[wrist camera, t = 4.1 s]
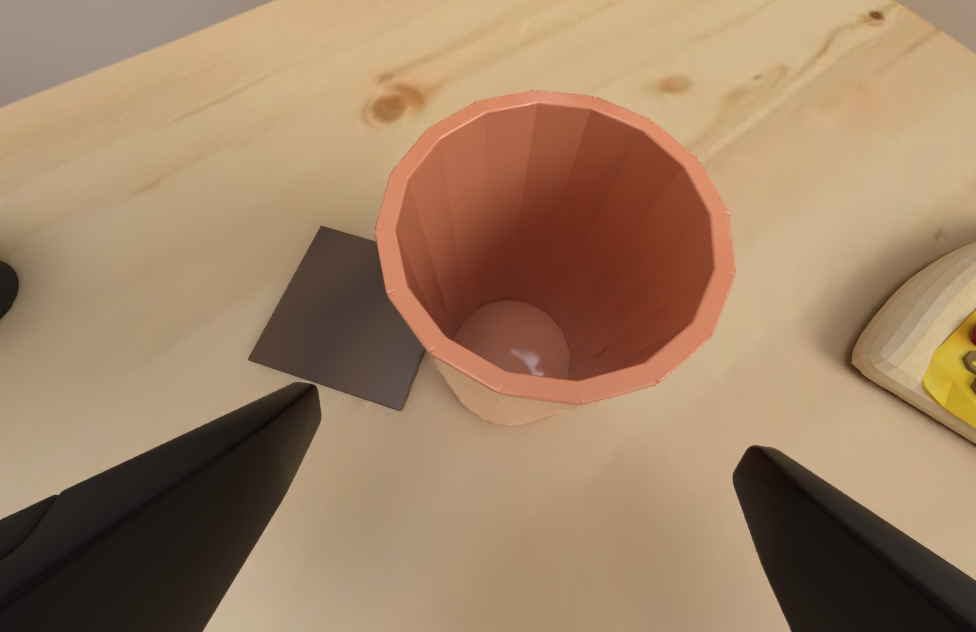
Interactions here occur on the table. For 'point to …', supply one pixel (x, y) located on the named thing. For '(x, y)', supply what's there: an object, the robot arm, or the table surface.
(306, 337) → the walnut coaster
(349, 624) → the table surface
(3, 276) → the drinking cup
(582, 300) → the peach cup
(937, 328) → the pizza slice
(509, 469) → the table surface
